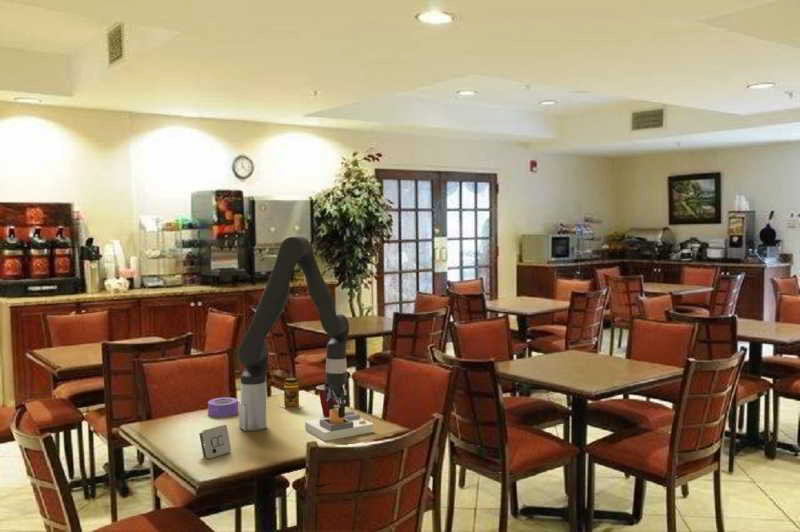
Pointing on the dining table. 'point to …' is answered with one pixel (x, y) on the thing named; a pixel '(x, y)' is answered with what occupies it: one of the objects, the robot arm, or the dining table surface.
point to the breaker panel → (339, 427)
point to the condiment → (291, 394)
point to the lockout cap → (335, 416)
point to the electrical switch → (215, 441)
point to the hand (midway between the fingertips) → (336, 414)
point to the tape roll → (223, 407)
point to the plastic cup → (324, 400)
